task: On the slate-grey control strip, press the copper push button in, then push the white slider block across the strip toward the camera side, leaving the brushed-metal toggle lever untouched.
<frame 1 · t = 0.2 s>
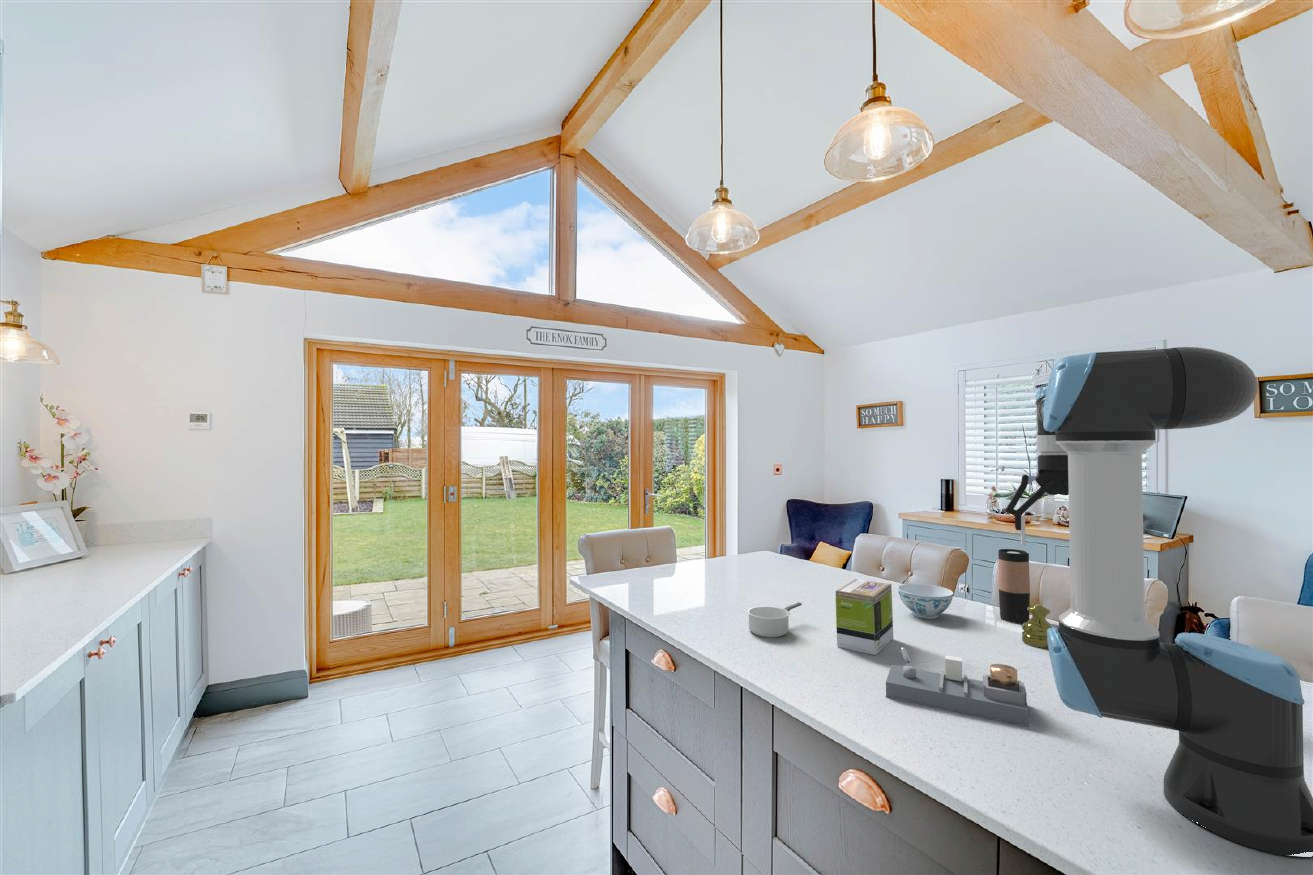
hand: (1059, 547, 123), 28 cm above the worktop, tool pointing down, fingers open, 13 cm apart
chinaware: (925, 616, 163), on the worktop
control panel: (953, 700, 108), on the worktop
tea box: (865, 644, 140), on the worktop
push button: (1003, 674, 104), point 7 cm above the worktop, slide at 0.0 cm
gold chess piece: (1039, 644, 139), on the worktop
saucepan: (778, 629, 152), on the worktop
toggle lever: (905, 656, 113), point 7 cm above the worktop, hinge at -20.0°
white slider block: (953, 668, 111), point 5 cm above the worktop, slide at 0.0 cm
travel mug: (1014, 620, 158), on the worktop
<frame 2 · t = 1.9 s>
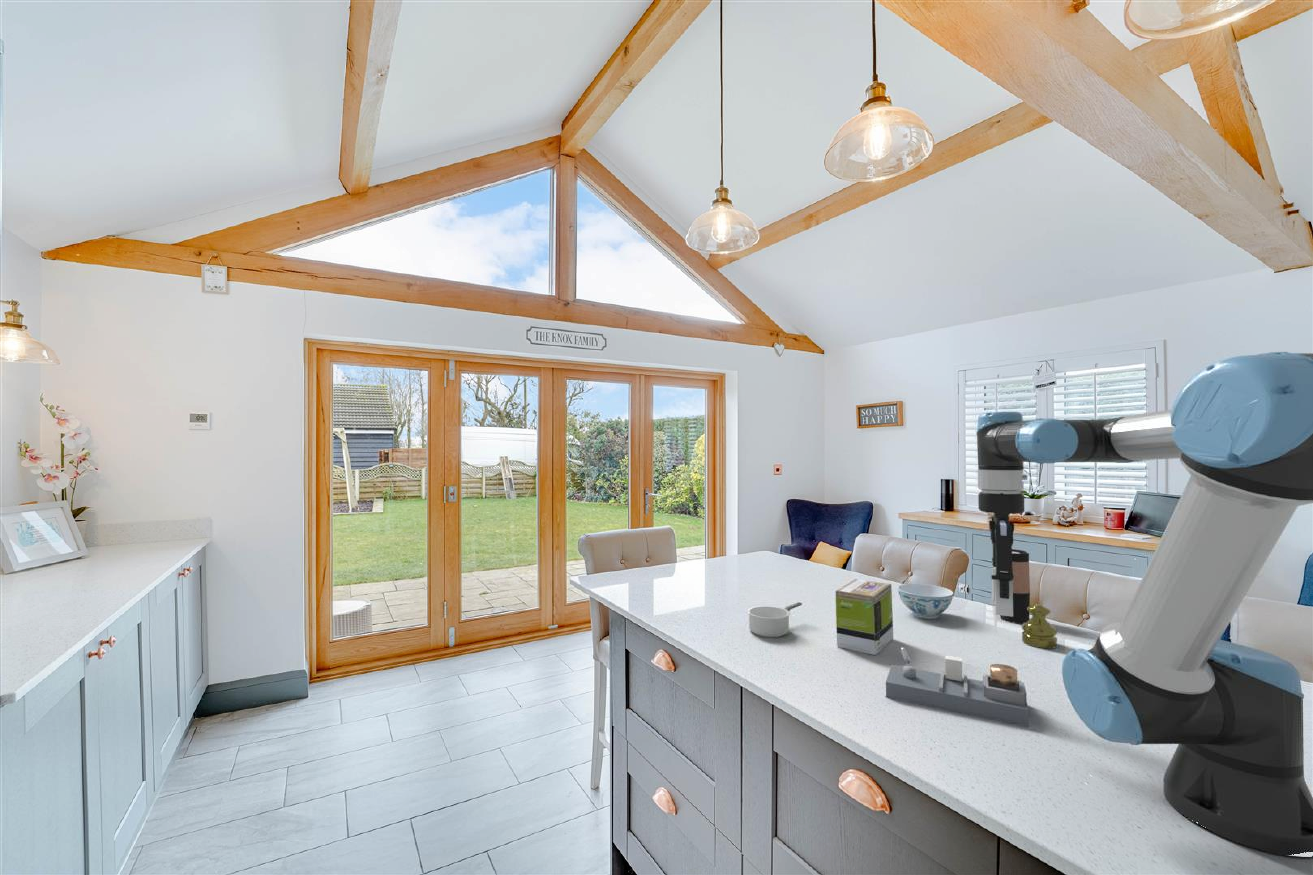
hand: (1002, 607, 105), 20 cm above the worktop, tool pointing down, fingers open, 9 cm apart
nothing on the worktop moved.
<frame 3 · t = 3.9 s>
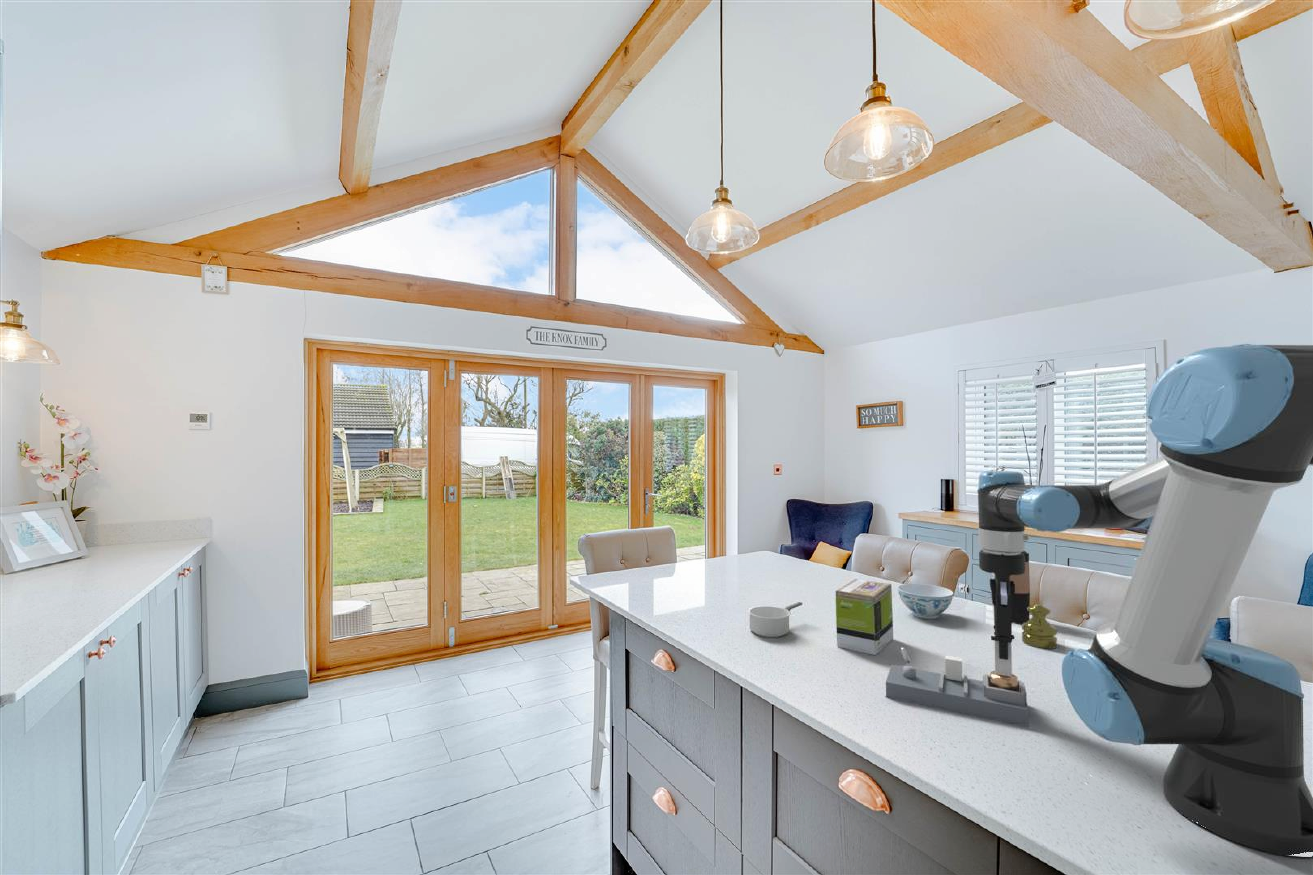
hand: (1003, 673, 104), 7 cm above the worktop, tool pointing down, fingers closed
push button: (1003, 681, 104), point 5 cm above the worktop, slide at 1.4 cm
everything else where it was.
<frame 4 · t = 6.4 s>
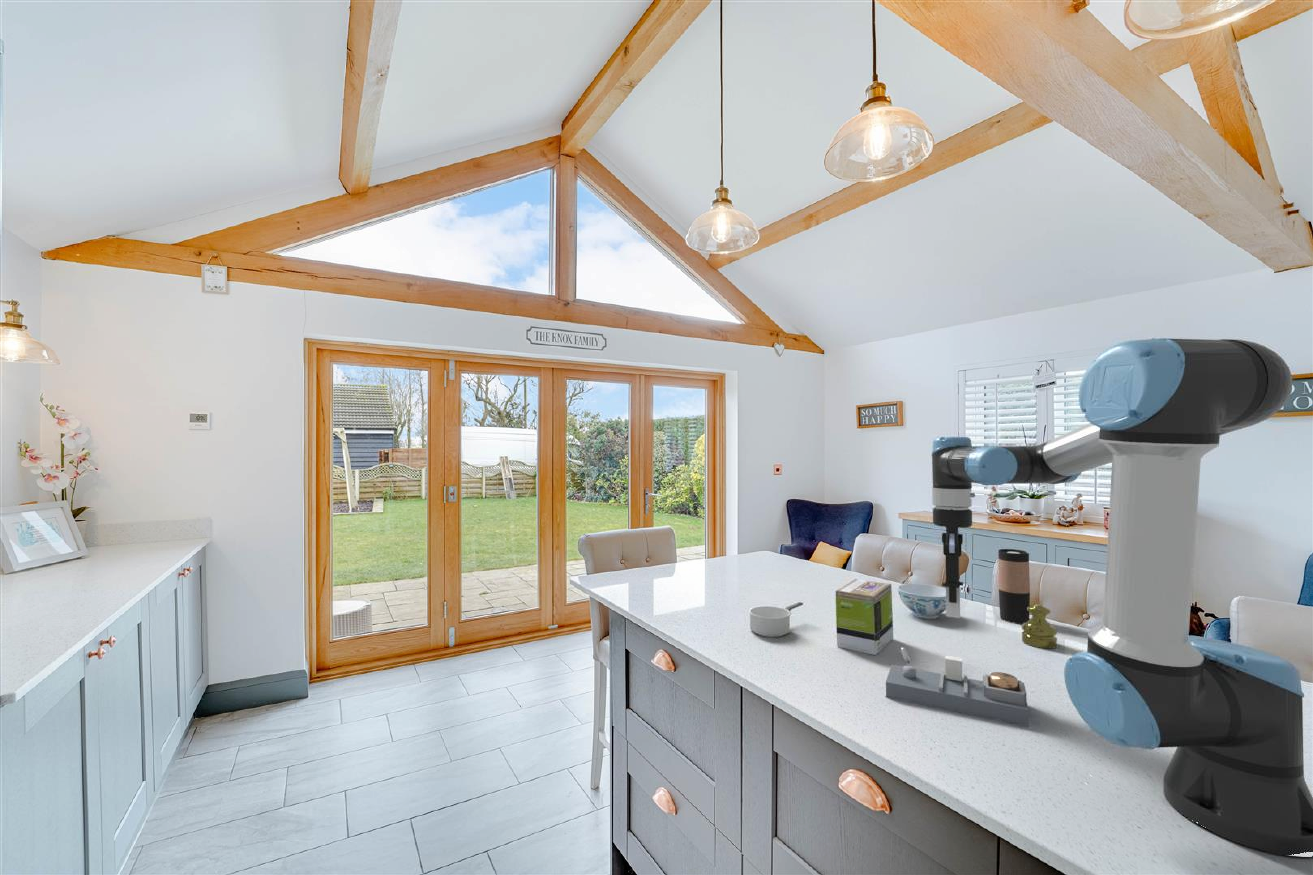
hand: (952, 616, 118), 14 cm above the worktop, tool pointing down, fingers closed
nothing on the worktop moved.
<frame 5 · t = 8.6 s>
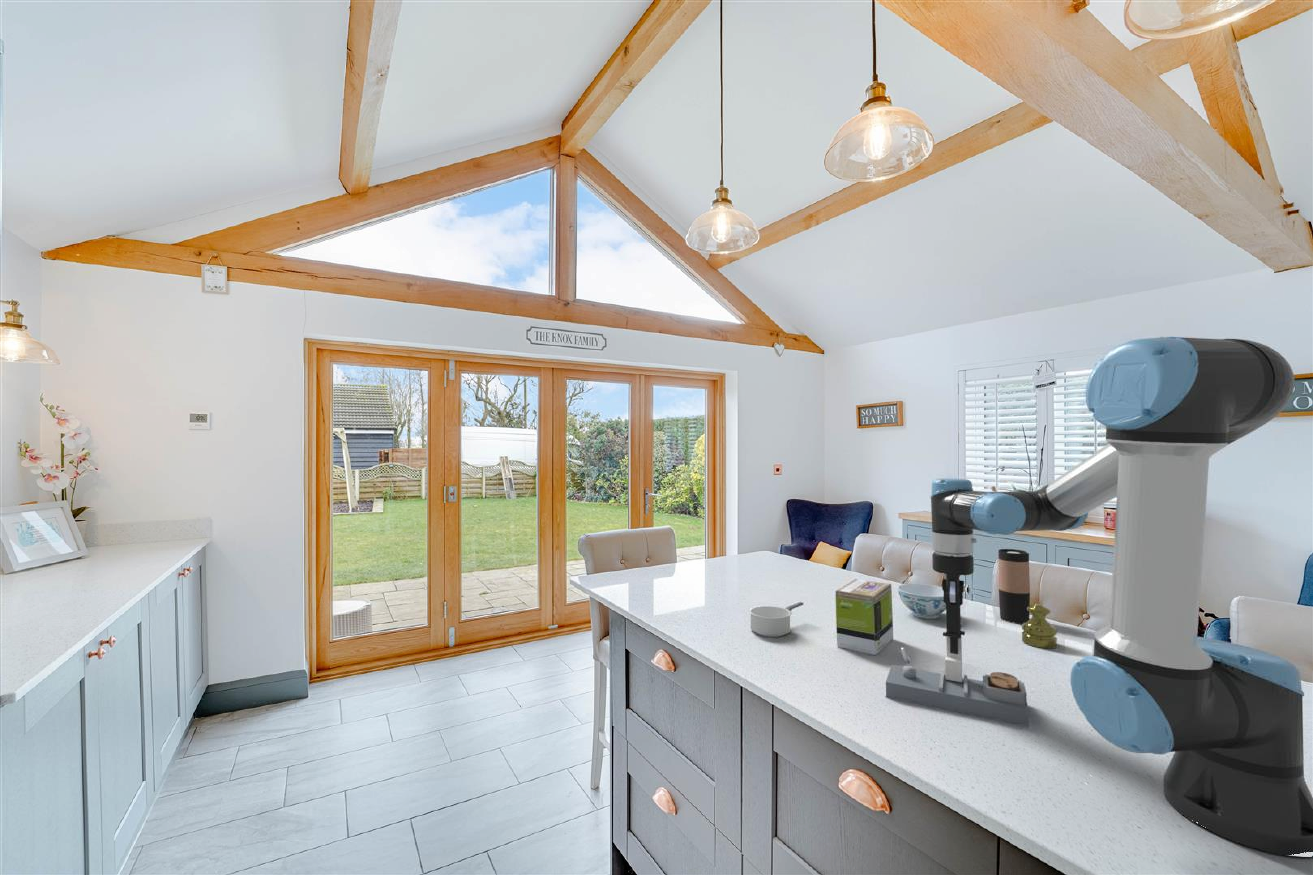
hand: (954, 667, 112), 5 cm above the worktop, tool pointing down, fingers closed
white slider block: (953, 669, 111), point 5 cm above the worktop, slide at 0.5 cm, touching gripper
everything else where it was.
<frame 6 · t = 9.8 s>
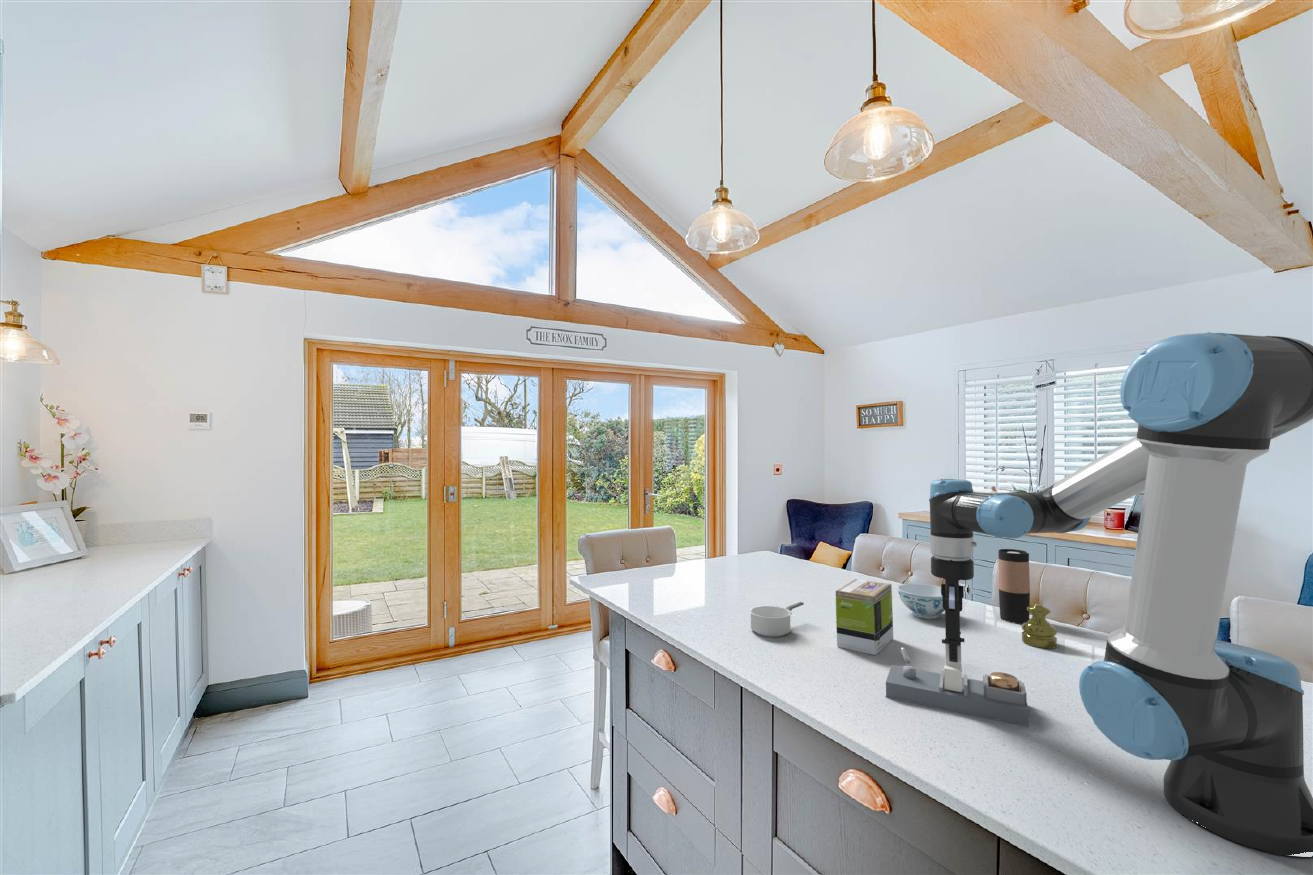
hand: (953, 675, 108), 5 cm above the worktop, tool pointing down, fingers closed
white slider block: (953, 678, 106), point 5 cm above the worktop, slide at 5.6 cm, touching gripper
everything else where it was.
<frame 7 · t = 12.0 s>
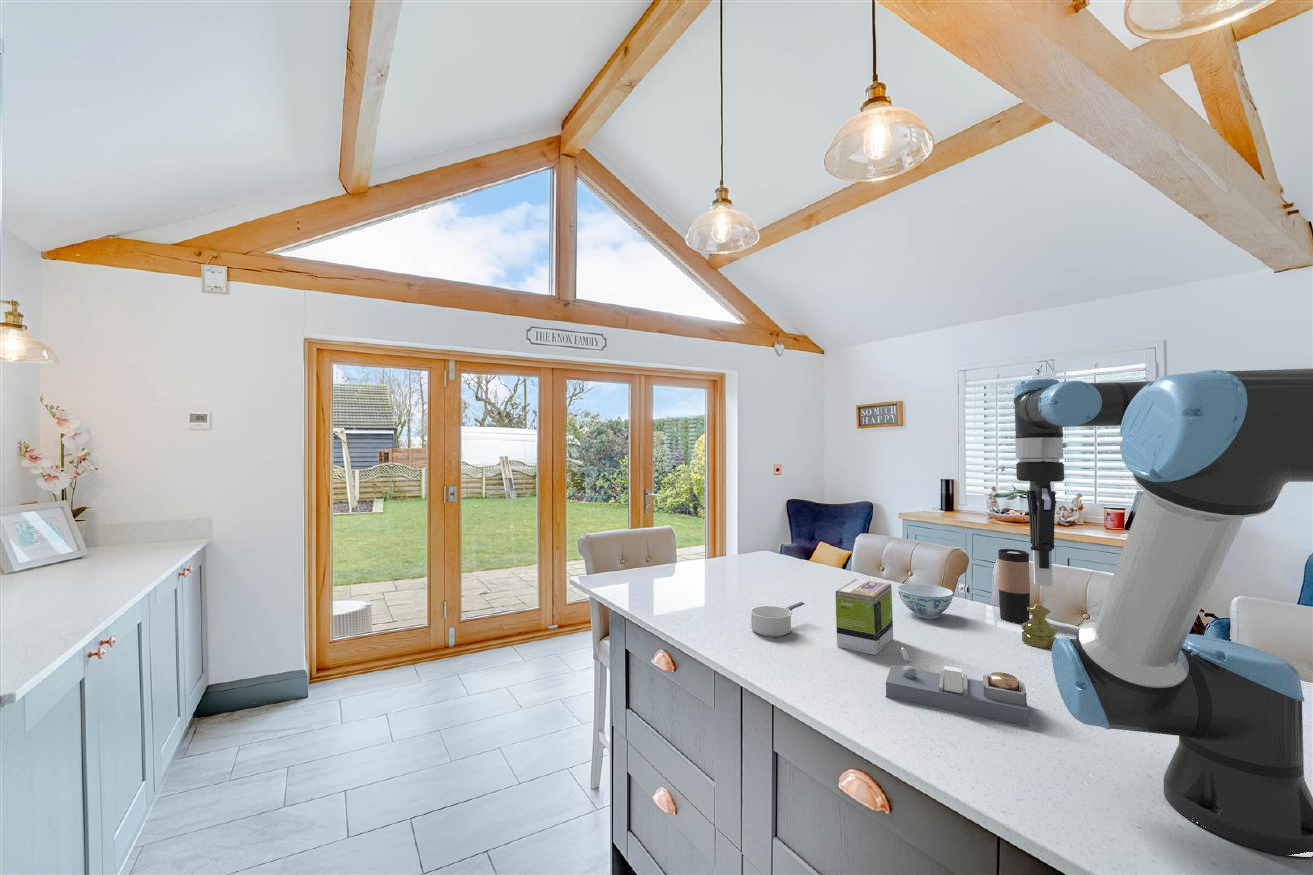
hand: (1043, 584, 103), 24 cm above the worktop, tool pointing down, fingers closed
white slider block: (953, 679, 106), point 5 cm above the worktop, slide at 6.1 cm
everything else where it was.
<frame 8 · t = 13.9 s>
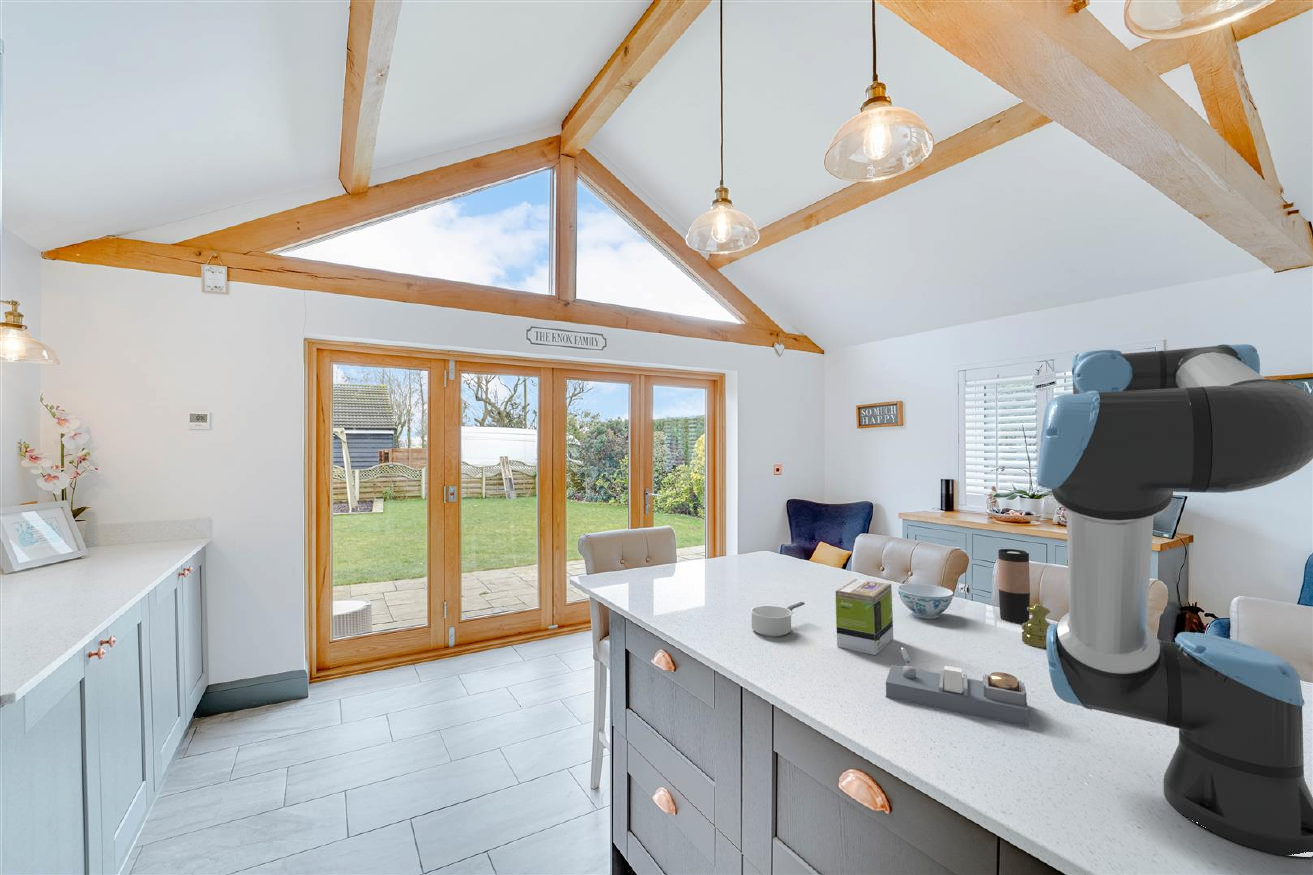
hand: (1101, 560, 101), 29 cm above the worktop, tool pointing down, fingers closed
at the end: push button slide at 1.6 cm; white slider block slide at 6.1 cm; toggle lever at -20° (first picture: -20°) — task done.
